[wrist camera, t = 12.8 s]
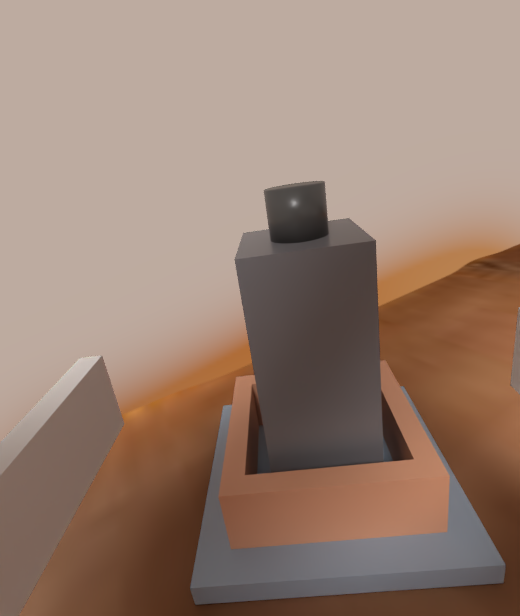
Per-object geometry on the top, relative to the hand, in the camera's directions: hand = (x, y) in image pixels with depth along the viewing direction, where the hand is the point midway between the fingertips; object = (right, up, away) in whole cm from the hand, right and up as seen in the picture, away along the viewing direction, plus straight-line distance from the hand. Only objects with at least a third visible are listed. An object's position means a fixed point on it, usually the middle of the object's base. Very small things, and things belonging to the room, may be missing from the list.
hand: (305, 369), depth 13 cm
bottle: (+2, -6, +8) cm, 10 cm away
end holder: (+2, -7, +8) cm, 11 cm away
